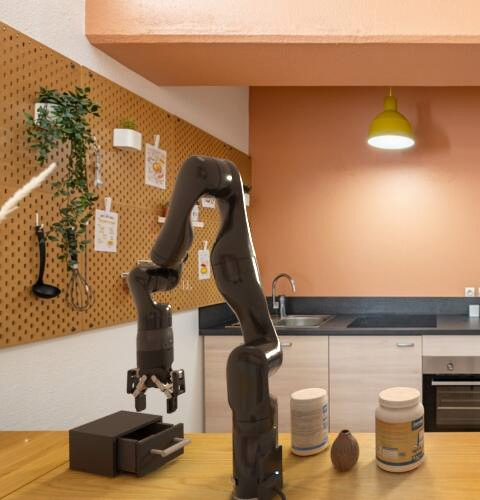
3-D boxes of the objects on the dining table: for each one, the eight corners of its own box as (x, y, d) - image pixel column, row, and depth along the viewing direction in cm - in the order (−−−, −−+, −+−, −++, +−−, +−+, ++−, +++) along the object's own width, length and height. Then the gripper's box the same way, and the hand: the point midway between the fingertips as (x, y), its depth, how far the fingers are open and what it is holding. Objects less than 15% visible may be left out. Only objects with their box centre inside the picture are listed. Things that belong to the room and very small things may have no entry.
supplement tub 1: (332, 450, 107) (332, 395, 107) (295, 461, 102) (295, 402, 102) (321, 436, 115) (321, 385, 115) (286, 445, 110) (286, 391, 110)
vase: (364, 461, 101) (364, 426, 101) (351, 476, 94) (350, 439, 94) (339, 458, 103) (339, 423, 103) (324, 472, 96) (324, 435, 96)
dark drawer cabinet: (163, 451, 107) (162, 415, 107) (113, 477, 95) (112, 437, 95) (122, 444, 111) (121, 410, 111) (69, 469, 99) (68, 429, 99)
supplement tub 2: (423, 474, 95) (423, 402, 95) (371, 475, 95) (371, 403, 95) (425, 448, 107) (424, 385, 107) (379, 449, 107) (378, 385, 107)
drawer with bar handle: (199, 455, 103) (198, 425, 103) (156, 480, 92) (156, 446, 92) (144, 446, 108) (144, 417, 108) (98, 469, 97) (97, 436, 97)
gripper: (115, 348, 97) (116, 416, 97) (168, 350, 94) (169, 419, 95) (143, 341, 104) (144, 404, 104) (192, 343, 102) (193, 407, 102)
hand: (156, 411), depth 99 cm, fingers open, 8 cm apart
